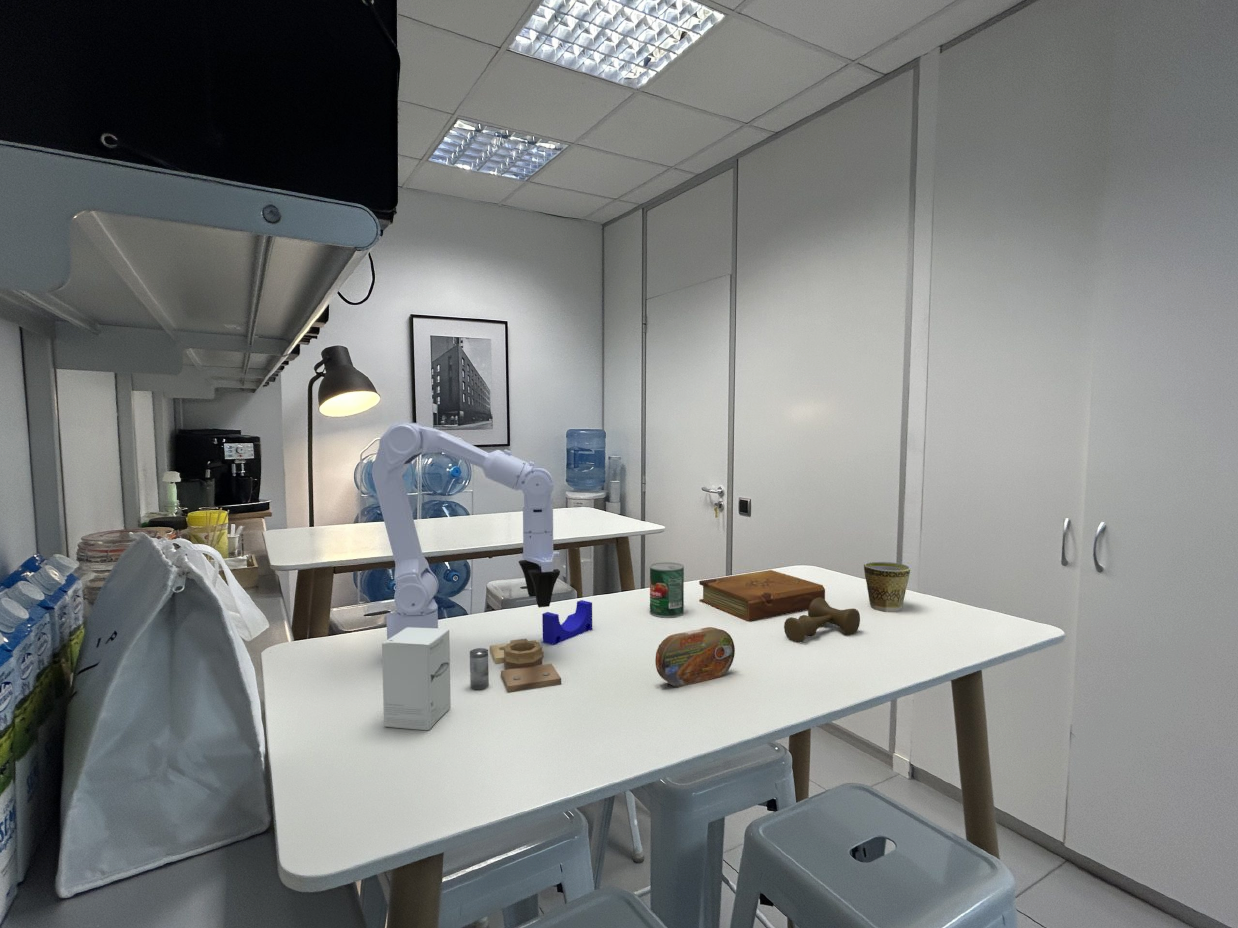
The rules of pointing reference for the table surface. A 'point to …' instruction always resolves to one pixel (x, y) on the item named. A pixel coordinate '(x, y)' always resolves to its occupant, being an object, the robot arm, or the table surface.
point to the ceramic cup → (886, 585)
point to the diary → (760, 594)
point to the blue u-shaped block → (567, 624)
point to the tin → (694, 656)
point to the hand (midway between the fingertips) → (538, 601)
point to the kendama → (821, 620)
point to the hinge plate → (529, 675)
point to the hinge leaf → (517, 651)
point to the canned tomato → (666, 589)
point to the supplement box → (416, 678)
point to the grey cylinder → (479, 669)
